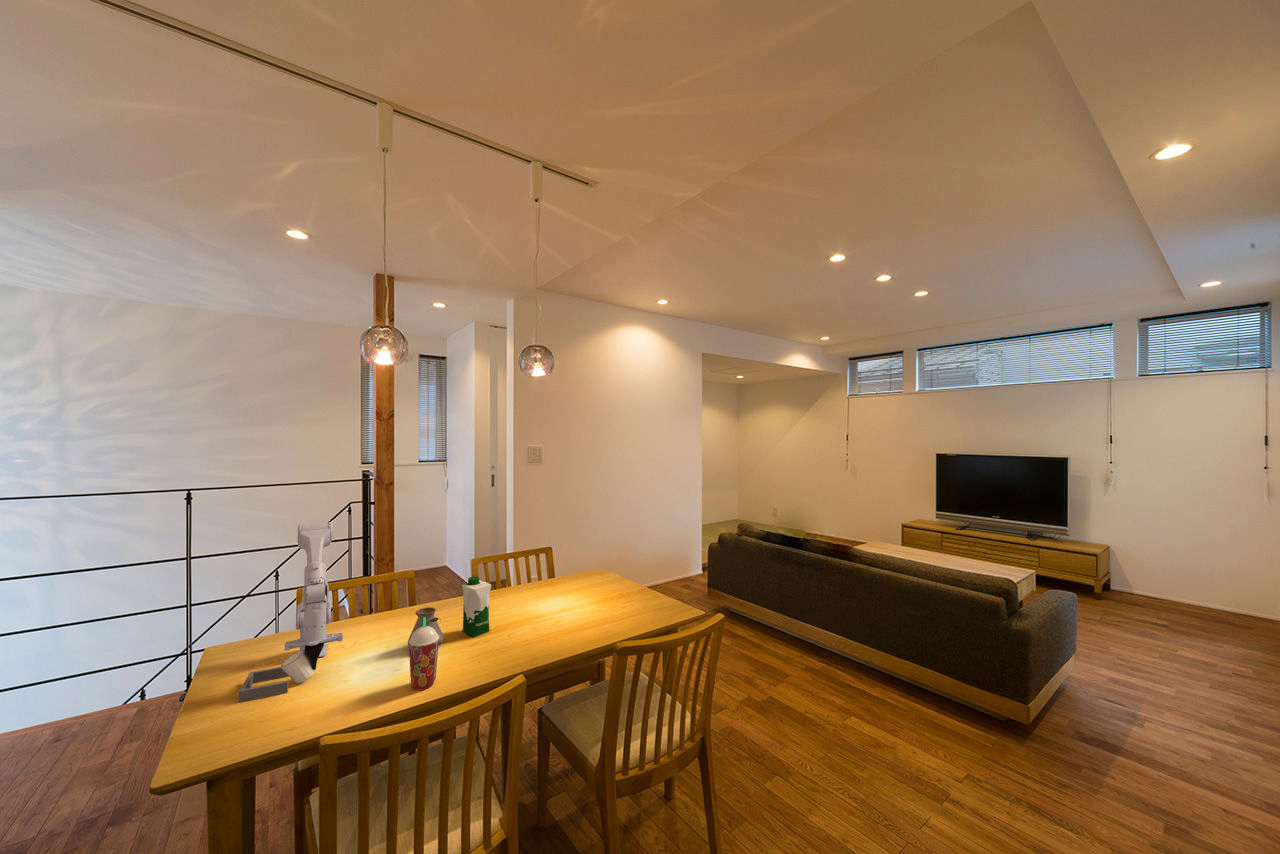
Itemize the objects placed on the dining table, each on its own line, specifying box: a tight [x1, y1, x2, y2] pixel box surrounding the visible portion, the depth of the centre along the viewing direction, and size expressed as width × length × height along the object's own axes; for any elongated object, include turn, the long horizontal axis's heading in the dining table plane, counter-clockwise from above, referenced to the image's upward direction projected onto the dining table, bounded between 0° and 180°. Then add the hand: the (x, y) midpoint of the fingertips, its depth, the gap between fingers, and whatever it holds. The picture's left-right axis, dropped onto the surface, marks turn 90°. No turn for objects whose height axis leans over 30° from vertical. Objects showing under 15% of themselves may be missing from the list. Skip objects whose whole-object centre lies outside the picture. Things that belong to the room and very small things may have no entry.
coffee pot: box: [407, 606, 444, 646], centre depth 161 cm, size 21×12×15 cm, turn 37°
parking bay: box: [237, 666, 289, 703], centre depth 138 cm, size 12×11×3 cm
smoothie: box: [408, 617, 440, 691], centre depth 141 cm, size 8×8×20 cm
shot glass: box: [279, 649, 316, 685], centre depth 142 cm, size 7×7×7 cm
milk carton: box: [462, 576, 492, 638], centre depth 178 cm, size 9×9×20 cm
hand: (314, 668), depth 143 cm, fingers closed, pressing on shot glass
